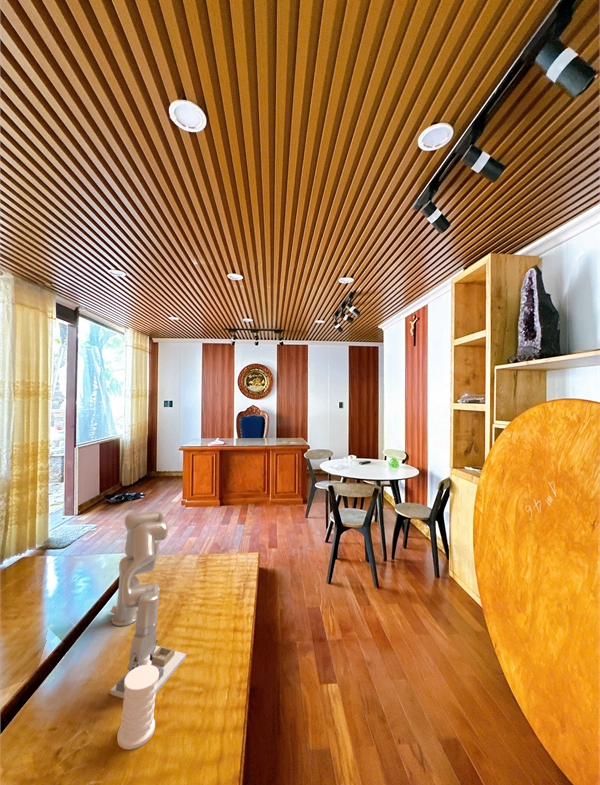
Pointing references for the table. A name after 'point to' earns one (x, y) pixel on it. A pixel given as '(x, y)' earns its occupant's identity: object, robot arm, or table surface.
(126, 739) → the white carved column
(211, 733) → the table surface
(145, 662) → the pipe fitting
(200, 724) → the table surface
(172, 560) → the table surface
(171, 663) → the board
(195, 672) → the table surface
